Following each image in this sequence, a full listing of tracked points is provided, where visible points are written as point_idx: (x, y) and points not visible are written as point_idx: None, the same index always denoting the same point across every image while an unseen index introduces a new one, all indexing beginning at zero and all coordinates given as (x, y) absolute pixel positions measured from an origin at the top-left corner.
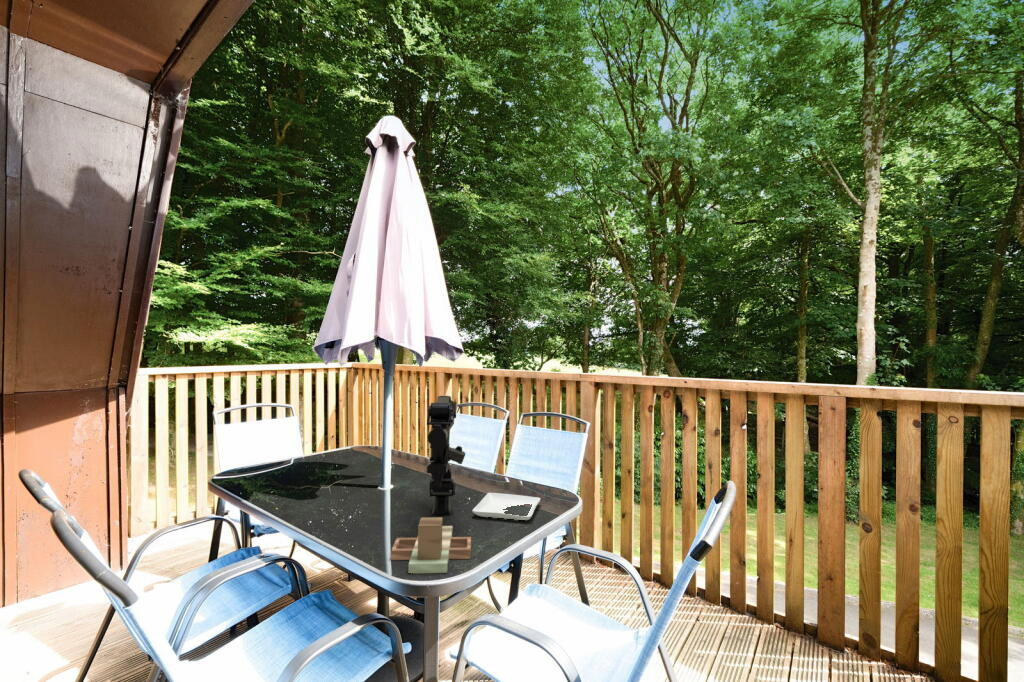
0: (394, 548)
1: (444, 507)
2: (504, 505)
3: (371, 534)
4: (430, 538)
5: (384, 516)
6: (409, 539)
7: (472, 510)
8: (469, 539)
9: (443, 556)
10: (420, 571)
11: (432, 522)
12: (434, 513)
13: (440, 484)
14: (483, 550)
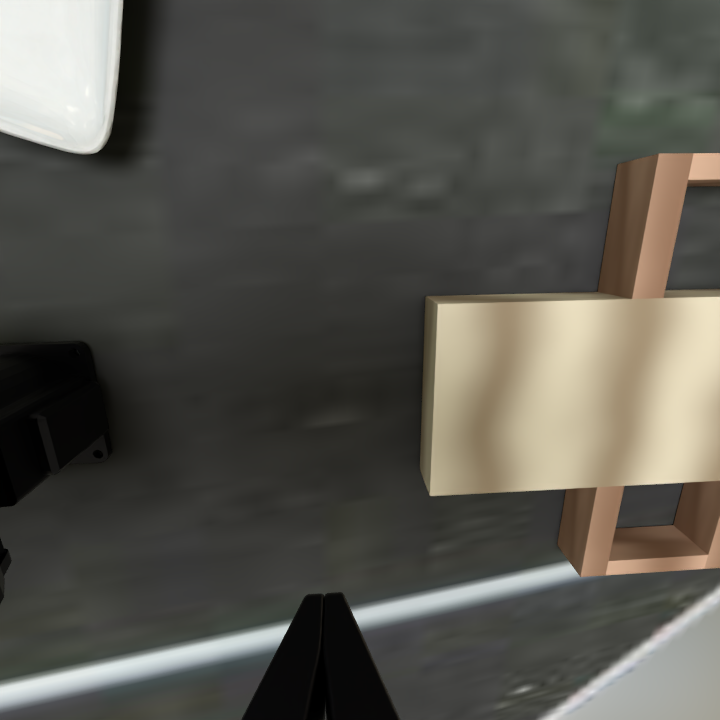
0: (704, 559)
1: (72, 399)
2: None
3: (407, 663)
4: None
5: (172, 672)
6: (613, 518)
7: (90, 151)
8: (702, 164)
9: None
10: None
11: None
12: (103, 445)
13: (367, 649)
14: (709, 72)
